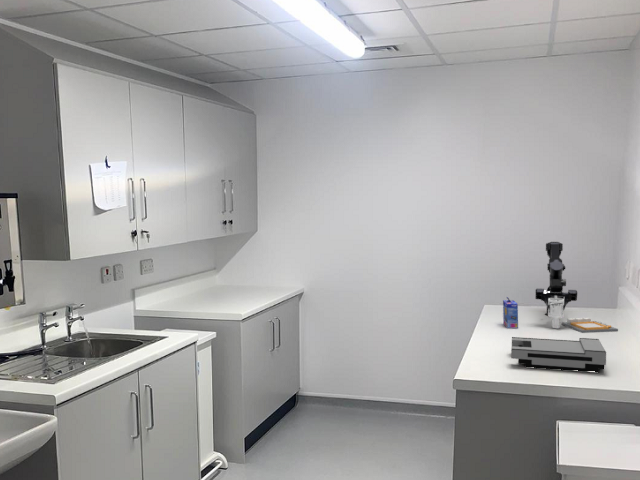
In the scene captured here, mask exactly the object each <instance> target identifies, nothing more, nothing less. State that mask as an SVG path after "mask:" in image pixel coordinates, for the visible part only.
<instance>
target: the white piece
mask: <svg viewBox="0 0 640 480" xmlns="http://www.w3.org/2000/svg"><path fill="white" fill-rule="evenodd" d="M557 300H560V301H557ZM549 302H551V303H550V313H549V309H548V315H547V316H548V317H549V318H551V319H552V320H551V321H552V328H553V329H560V319H561V318H562V319H563V318H564V317H565V309H564V310H563V305H564V299H562V298H557V296H556V295H554V298H548V305H549ZM554 303H555V304H554ZM557 303H563V304H560V305H559V304H557ZM552 304H554V306H553V305H552Z"/></svg>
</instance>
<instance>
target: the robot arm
mask: <svg viewBox="0 0 640 480" xmlns="http://www.w3.org/2000/svg"><path fill="white" fill-rule="evenodd" d="M563 249H564V248H563V243H561V242H560V241H550V242H546V243H545V251H546V255H547V257H548V258H549V259H548V263H547V268H546V269H547V271H548V273H549V285H548V287H547V290H545V288H536V289H535V300H541V301H542V302H543V303H544V304H545V306H546V313H545V314H544V315H545V316H548V309H549V313H550V303H551V302H549V305H548V298H554V295H556V296H557V298H562V299H564V305H562V311H563V310H564V311H565V309H566V307H567V306H568V304H569V303H571V302H576V301H578V291H577V290H576V289H568V291H567V292H563V290H564V287H566V286H567V279H566V278H563V272H564V271H565V270H566V266H565V264H564V263H563V259H562V258H560V257H561V254H562V252H563ZM557 301H560V300H557ZM554 304H555V303H554ZM554 304H552V305H553V306H554ZM557 304H559V305H560V304H563V303H557Z"/></svg>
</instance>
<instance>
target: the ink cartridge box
mask: <svg viewBox="0 0 640 480" xmlns="http://www.w3.org/2000/svg"><path fill="white" fill-rule="evenodd" d="M502 311H503V313H502V317H503V321H502V322H503V325H504V326H505V328H507V329H519V304H518V302H516V301H515V300H513V299H510V298H509V297H507V296H506V300H505V299H504V300H502Z"/></svg>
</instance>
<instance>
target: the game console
mask: <svg viewBox="0 0 640 480" xmlns="http://www.w3.org/2000/svg"><path fill="white" fill-rule="evenodd" d="M510 349H511V351H510V353H511V356H510V357H511V358H510V359H515V360H517V359H518V361H517V362H518V364H523V365H525V366H526V367H534V368H533V369H537V368H546V369H545V370H550V369H561V370H560V371H563V370H578V371H595V372H598V373H599V372H600V371H599V370H605V366H607V351H606V349H605V347H604V346H603V344H602V341H600V339H599V338H587V337H579V340H569V339H568V340H567V339H549V338H533V337H517V336H516V337H514V336H512V337H511V348H510ZM525 366H524V367H525Z"/></svg>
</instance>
